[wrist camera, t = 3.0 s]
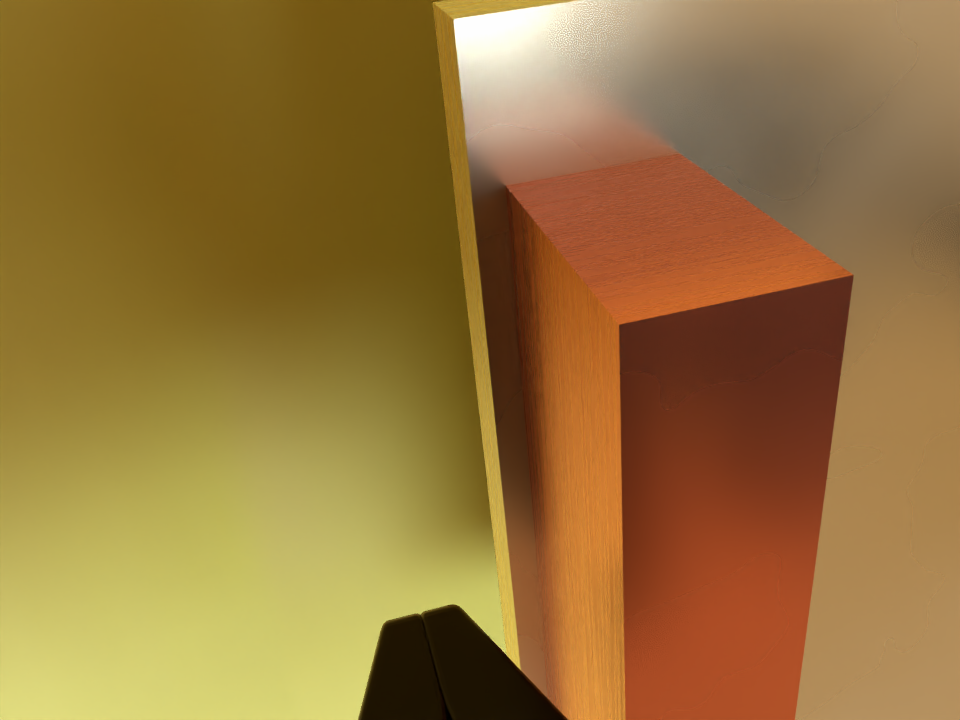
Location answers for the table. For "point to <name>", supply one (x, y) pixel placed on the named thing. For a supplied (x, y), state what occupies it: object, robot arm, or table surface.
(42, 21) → the table surface
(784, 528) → the lid
